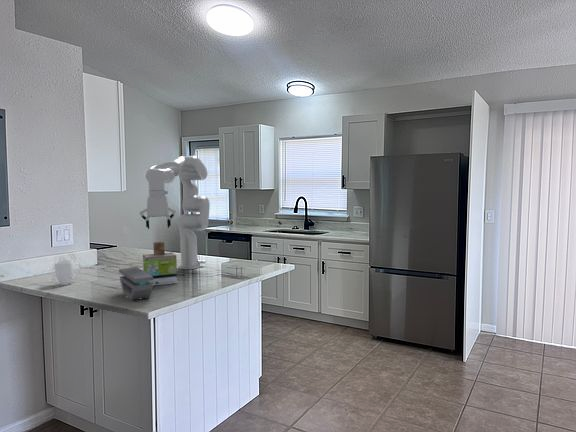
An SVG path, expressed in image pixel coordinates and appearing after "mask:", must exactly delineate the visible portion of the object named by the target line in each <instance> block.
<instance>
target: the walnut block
mask: <svg viewBox="0 0 576 432" xmlns="http://www.w3.org/2000/svg"><path fill="white" fill-rule="evenodd" d="M152 242H153V241H152ZM165 250H166V249H165V242H164V241H154V242H153V254H154V256H156V255H165V253H166V252H165Z"/></svg>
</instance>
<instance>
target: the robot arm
mask: <svg viewBox="0 0 576 432" xmlns="http://www.w3.org/2000/svg"><path fill="white" fill-rule="evenodd" d="M176 177H178V179H179V180H180V182H181V184H182V187H183V193H182V194H183V195H182V210H183V211H184V212H186V213H184V214H181V215H180V216H179V217H178V219H177V224H178V225H177V226H178V230H179V231H178V232H179V242H180V264H179V265H178V269H180V270H193V269H194V270H195V269H199V268H200V267H201V264H206V259H198V239H197V235H196V233H195V232H194V231H205V230H207V229H208V226H209V221H210V220H209V217H210V210H211V209H210V207H211V206H210V200H209V198H208V197H207V196H204V195H199V187H198V185H197V184H196V183H195V181H205V180H206V179H207V177H208V169H207V167H206V166H205V164H204V163H203V162H202V160H201V159H200V158H199V157H198V156H196V155H180V156H177V157H175V158H174V159H172V160H171V161H167V162H163V163H160V164H156V165H153V166H151V167H150V168H149V167H148V169H147V171H146V173H145V178H146V180H147V182H148V196H147V198H146V208H145V209H143V210H141V211H140V212H139V215H140V217H141V218H142V219H143V220H145V226H146V228H147V229H148V230H149V229H150V221H149V220H150V218H157V217H158V218H160V217H166V218H167V228H170V227H171V226H172V225H171V221H172V220H171V219H172V218H173V217H174V216H175V214H176V210H175V209H172V208H171V207H169V205H168V204H169V203H168V198H167V195H168V194H169V193H168V191H167V190H165V189H166V188H165V184H170V183H173V181H175V179H176ZM169 212H171V214H170V215H169ZM145 213H146V214H147V216H145V215H144V214H145Z"/></svg>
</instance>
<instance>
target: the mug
mask: <svg viewBox="0 0 576 432" xmlns="http://www.w3.org/2000/svg"><path fill="white" fill-rule="evenodd" d="M76 265H78V266H79V269H78V271H77V272H76V273H75V275H74V270H75V266H76ZM81 269H82V266H81V264H80V263H79V262H76V263H74V260H59V261H56V262H54V273H55V276H56V279H57V280H58V282H59V285H60V286H67V285H70V284H71V281H72V280H73V279H74V278H76V277H77V276H78V274H80V272H81V271H82V270H81Z"/></svg>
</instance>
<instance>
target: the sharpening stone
mask: <svg viewBox="0 0 576 432" xmlns="http://www.w3.org/2000/svg"><path fill="white" fill-rule="evenodd" d="M118 273H119V274H121V275H123V276H121V275H120V276H119V278H120V279H119V281H120V282H119V283H120V285H121V289H122V292H123V295H124V296H125V295H126V296H127V297H128V298H129V299H128V298H127V297H126V296H125V297H126V298H127V299H128V300H130V299H131V300H133V301H136V300H135V299H139V300H141V299H140V298H145V299H147V298H146V297H149V298H150V297H151V295H152V292H153V288H154V287H153V286H154V285H153V283H151V282H149V281H150V280H153V276H151V275H150V274H148V273H146V272H144V271H143V269H140V268H138V267H137V266H136V267H134V266H133V267H126V268H119V269H118ZM131 300H130V301H131Z"/></svg>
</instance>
